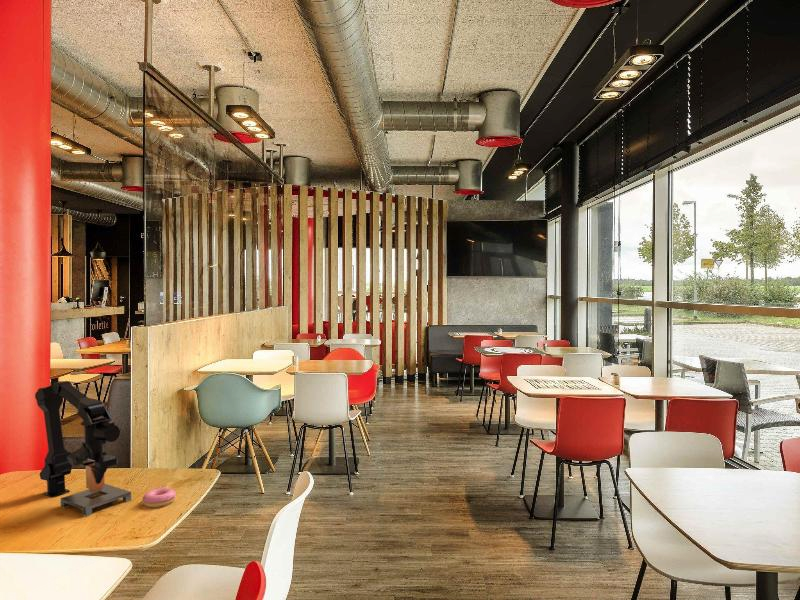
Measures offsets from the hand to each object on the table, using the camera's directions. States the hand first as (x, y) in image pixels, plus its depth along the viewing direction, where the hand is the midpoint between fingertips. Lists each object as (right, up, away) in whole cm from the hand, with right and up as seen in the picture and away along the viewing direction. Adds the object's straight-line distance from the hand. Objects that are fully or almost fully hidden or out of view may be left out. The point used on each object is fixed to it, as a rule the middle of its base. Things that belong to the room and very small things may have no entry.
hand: (95, 482), depth 198 cm
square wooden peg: (0, -3, 0) cm, 3 cm away
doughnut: (+22, -7, 0) cm, 24 cm away
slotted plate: (0, -7, 0) cm, 7 cm away
